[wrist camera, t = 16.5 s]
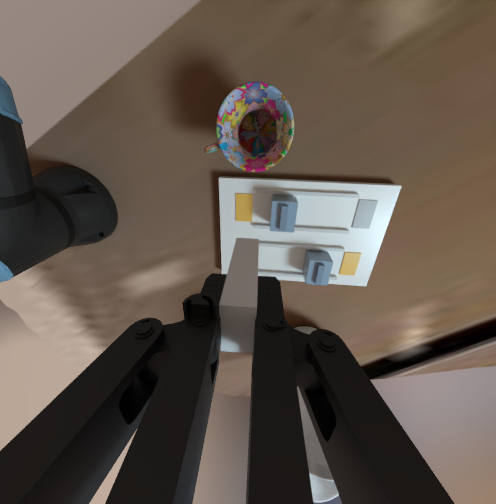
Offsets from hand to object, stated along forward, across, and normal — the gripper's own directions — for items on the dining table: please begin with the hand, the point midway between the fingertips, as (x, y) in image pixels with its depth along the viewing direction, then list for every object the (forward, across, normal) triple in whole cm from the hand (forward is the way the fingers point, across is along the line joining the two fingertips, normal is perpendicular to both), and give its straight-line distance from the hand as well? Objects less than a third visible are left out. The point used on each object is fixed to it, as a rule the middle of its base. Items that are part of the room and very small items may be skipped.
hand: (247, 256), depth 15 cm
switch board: (+26, +9, -9) cm, 29 cm away
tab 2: (+24, +12, -14) cm, 30 cm away
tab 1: (+24, +5, -4) cm, 25 cm away
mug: (+27, -1, +8) cm, 28 cm away
